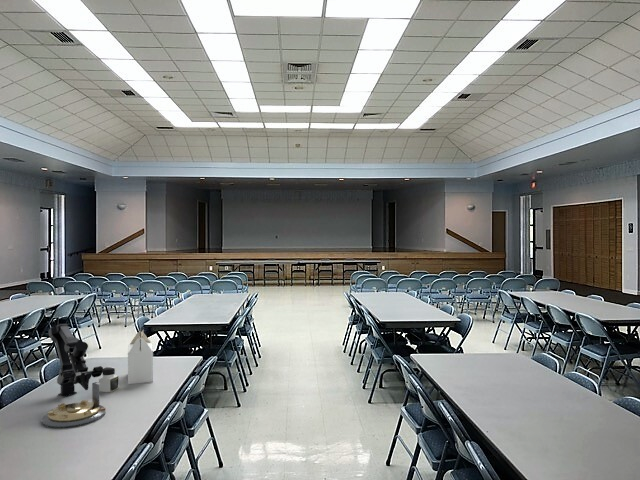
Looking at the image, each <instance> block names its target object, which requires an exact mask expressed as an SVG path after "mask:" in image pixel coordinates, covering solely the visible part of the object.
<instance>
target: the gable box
mask: <svg viewBox="0 0 640 480" xmlns="http://www.w3.org/2000/svg"><path fill="white" fill-rule="evenodd" d="M144 332H145V330H144V328H143V329H142V327H139V331H138V332H137V333H136V334H135V336H134V337H133V339H132V340H131V342H130V343H129V344H128V348H127V385H134V384H145V383H153V382H154V349H153V343H152V342H151V341H150V339H149V337H147V334H145V333H144Z"/></svg>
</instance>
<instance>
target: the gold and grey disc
mask: <svg viewBox="0 0 640 480" xmlns="http://www.w3.org/2000/svg"><path fill="white" fill-rule="evenodd" d="M99 407H100V410H99V412H98V413H97V414H96V415H94V416H92V417H90V418H87V419H83V420H79V421H73V422H54V421H50V420H49V419H48V412H46V413H45V414H44V415H43V416H42V417H41V424H42V426H44V427H46V428H51V429H68V428H76V427H80V426H84V425H89V424H91V423H95V422H97V421H100V420H101V419H102V418H103V417H105V415H106V407H105V406H104V405H101V404H99Z"/></svg>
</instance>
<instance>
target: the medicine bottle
mask: <svg viewBox="0 0 640 480" xmlns="http://www.w3.org/2000/svg"><path fill="white" fill-rule="evenodd" d="M98 382H99V393H100V392H103V393H112V392H114V391H116V390H118V389H119V375H117V374H116V368H115V367H113V366H106V367H103V372H102V376H100V377H99V378H98Z"/></svg>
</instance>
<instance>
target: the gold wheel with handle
mask: <svg viewBox="0 0 640 480" xmlns="http://www.w3.org/2000/svg"><path fill="white" fill-rule="evenodd" d="M91 384H92V385H91V386H92V387H91V388H92V389H91V393H92V394H91V395H92V397H91V401H92V402H89V400H88V399H87V400H86V399H85V400H83V399H82V400H81V401H80V402H74V403H67V404H66V403H60V404H57V407H55V408H53V409H51V410H48V411H47V413H48V419H49V420H50V421H54V422H73V421H79V420H83V419H87V418H90V417H92V416H94V415H96V414H97V413H98V412H99V410H100V407H99V405H100V392H99V381H96V382H92V383H91Z"/></svg>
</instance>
